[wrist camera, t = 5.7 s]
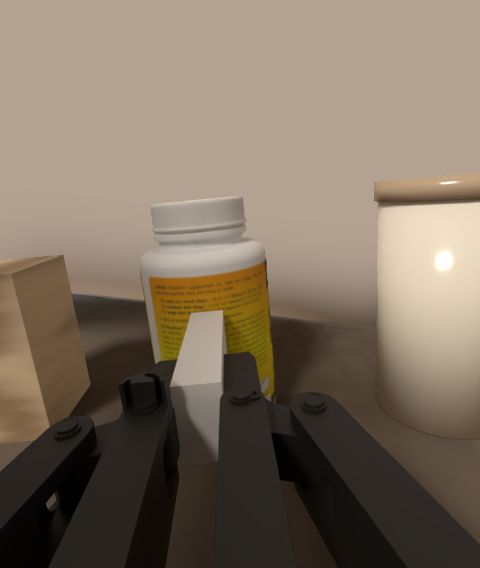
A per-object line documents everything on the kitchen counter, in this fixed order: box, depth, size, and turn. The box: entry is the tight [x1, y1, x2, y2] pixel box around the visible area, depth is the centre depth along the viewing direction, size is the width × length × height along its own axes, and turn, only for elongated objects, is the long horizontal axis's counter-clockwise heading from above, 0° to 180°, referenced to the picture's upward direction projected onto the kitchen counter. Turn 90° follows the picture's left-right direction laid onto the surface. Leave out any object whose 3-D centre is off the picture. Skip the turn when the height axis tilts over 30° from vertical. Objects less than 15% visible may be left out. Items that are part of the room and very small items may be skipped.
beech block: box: [0, 255, 91, 444], centre depth 22 cm, size 6×6×10 cm
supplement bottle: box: [140, 196, 276, 403], centre depth 20 cm, size 7×7×13 cm
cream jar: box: [374, 173, 480, 440], centre depth 19 cm, size 7×7×13 cm
